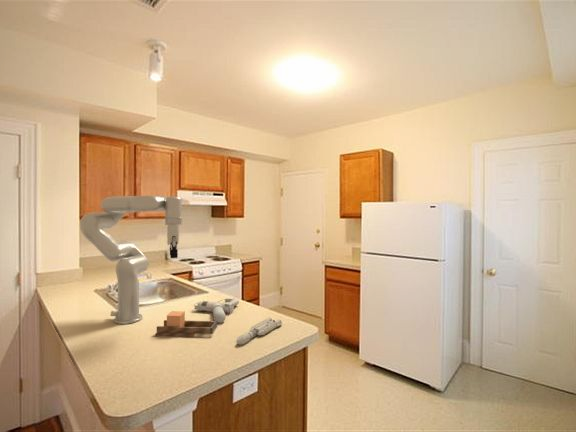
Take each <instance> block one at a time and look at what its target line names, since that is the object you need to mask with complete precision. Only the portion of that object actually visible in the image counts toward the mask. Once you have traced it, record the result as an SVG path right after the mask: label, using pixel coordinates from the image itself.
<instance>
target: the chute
mask: <svg viewBox="0 0 576 432" xmlns="http://www.w3.org/2000/svg"><path fill="white" fill-rule="evenodd" d="M218 327H219V326H218V323H217V321H215V320H213V321H212V320H185V326H184V327H172V326H167V319H164V320H163V325H160V326H159V325H158V326H156V333H155V334H154V337H166V338H167V337H169V338H171V337H172V338H212V337H213V335H214V334H215V333H216V331H217V329H218Z"/></svg>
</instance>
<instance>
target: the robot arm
mask: <svg viewBox="0 0 576 432" xmlns="http://www.w3.org/2000/svg"><path fill="white" fill-rule="evenodd" d="M182 206H183V205H182V198H181V197H180V196H159V195H129V196H127V195H126V196H125V195H124V196H123V195H122V196H108V197H105V198H103V199H102V201H101V202H100V207H101V209H102V211H104V212H101V211H100V212H99V211H98V212H90V213H86V214H85V215H83V216H82V217H81V219H80V220H79V221H80V223H79V227H80V231H81V233H82V235H83V236H84V237H85V238H86V239H87V240H88V241H89V242H90V243H91V244H92V245H93V246H94V247H95V248H96V249H97V250H98V251H99V252H100V253H101V254H102V255H103V256H104V257H105V258H106V260H108V261H111V262H117V263H116V265H115V274H116V277H117V310H112V311H110V317H115V318H114V319H113V322H114V324H118V325H129V324H133V323H137V322H139V321H141V320H142V319H143V315H142V313H141V314H140V281H139V278H138V274H140V273H144V272H145V271H147V270H148V268H149V265H150V262H149V259H148V258H147V256H145V254H144V253H143V252H142V251H141V249H139V248H138V247H137V246H136V245H134V243H133V242H131V241H126V240H123V241H118V240H116V239H115V238H114V237H113V236H112V235H111V234H110V233H108V232H107V231H105V230H104V229H110V228H113V227H114V226H116V225H117V224H118V222H119V221H121V219H122V218H124V217H125V215H126V214H134V213H138V212H141V213H142V212H143V213H144V212H165V213H164V221H165V222H164V225H165V226H166V227H167V228H166V229H167V230H166V231H167V233H166V237H167V238H166V239H167V240H166V244H167V246H169V256H170V259H177V258H178V245H179V242H180V241H179V239H180V226H181V225H182V223H183V221H182V219H183V218H182V217H183V215H182V209H183V207H182Z"/></svg>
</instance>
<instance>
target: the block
mask: <svg viewBox="0 0 576 432" xmlns="http://www.w3.org/2000/svg"><path fill="white" fill-rule="evenodd" d="M185 313H186V312H185V311H184V310H183V311H182V310H181V311H180V310H171V312H169V313H168V314H167V315H166V320H167V326H172V327H184V326H185V321H186V320H185V319H186V317H185V316H186V315H185Z"/></svg>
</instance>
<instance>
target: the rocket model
mask: <svg viewBox="0 0 576 432" xmlns="http://www.w3.org/2000/svg"><path fill="white" fill-rule="evenodd" d="M281 326H282V320H281V319H276V320H275V319H272V318H271V317H267V318H266V319H264V320H262V321H259V322H258V323H256V324H254V325H252V326H251V327H250V328H249V330H248V332H245V333H243V334H240V335H239V336H238V337H237V339H236V341H235V343H236V344H237V345H239V346H242V345H245V344H246V343H249V342H250V340H251V339H253V338H255V337H257V336H264V335H266V334H267V333H269V332H271V331H273V330H274V329H276V328H277V327H281Z"/></svg>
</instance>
